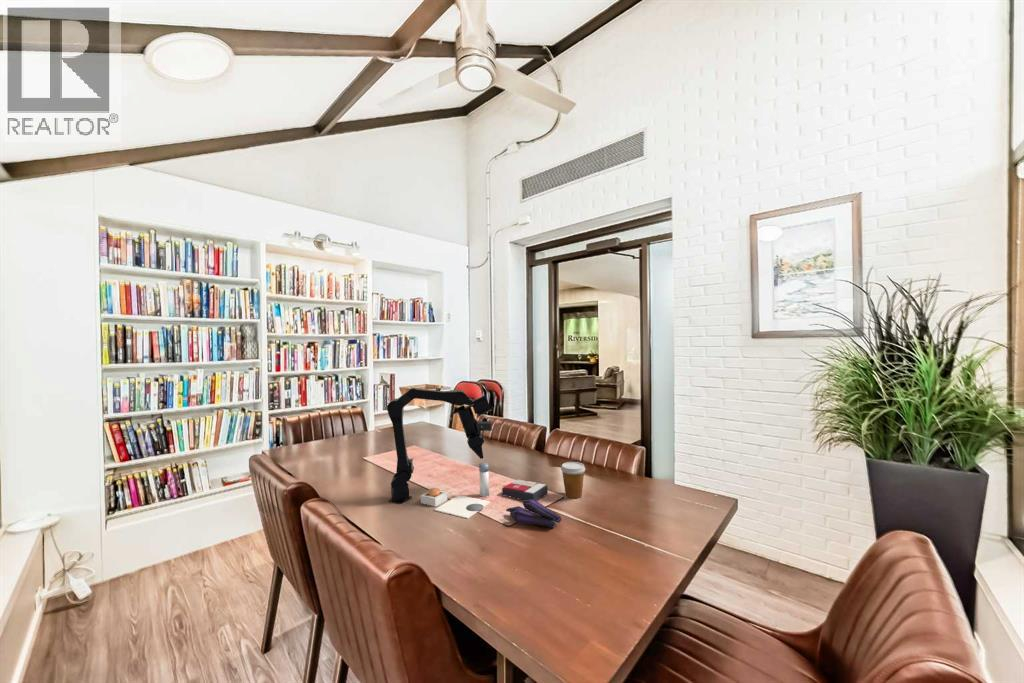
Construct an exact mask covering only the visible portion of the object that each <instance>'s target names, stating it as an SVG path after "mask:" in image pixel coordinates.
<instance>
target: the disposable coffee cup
mask: <svg viewBox="0 0 1024 683" xmlns="http://www.w3.org/2000/svg"><path fill="white" fill-rule="evenodd" d="M560 470H561V473H562V480H563V486H564V493H565V497H566V498H568V499H571V500H572V499H574V500H575V499H580V498H582V496H583V486H584V478H585V477H584V476H585V472H586V467H585V465H584V464H583V463H581V462H578V461H567V462H564V463H562V464H561V467H560Z"/></svg>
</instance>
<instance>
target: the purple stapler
mask: <svg viewBox="0 0 1024 683" xmlns="http://www.w3.org/2000/svg"><path fill="white" fill-rule="evenodd" d="M521 504H522V505H523V507H522V506H519V505H517V506H512V507H508V508H506V510H505V511H506V512H509V515H510V517H511V518H512V519H513V520H514V522H515V523H516V524H518V523H519V525H537V526H544V527H547V528H550V529H556V528H555V527H557V523H558V524H559V523H561V521H562V516H560V515H559V514H557V513H556V512H554V511H552V509H550V508H548V507H546V506H545V505H544V504H542V503H540V502H539V501H536V500H534V499H530V500H521Z"/></svg>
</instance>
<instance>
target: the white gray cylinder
mask: <svg viewBox="0 0 1024 683" xmlns="http://www.w3.org/2000/svg"><path fill="white" fill-rule="evenodd" d="M489 471H490V469H489V463H488V462H481V463H479V464H478V472H479V497H481V496H482V497H481V498H487V497H486V496H488V497H489V496H490V479H489V478H490V477H489V476H490V475H489Z"/></svg>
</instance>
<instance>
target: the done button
mask: <svg viewBox="0 0 1024 683" xmlns="http://www.w3.org/2000/svg"><path fill="white" fill-rule="evenodd" d="M440 491H441V490H440V488H439V487H432V488H429V489H428V490H427V492H428V496H431V497H437V496H438V495H440Z"/></svg>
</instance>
